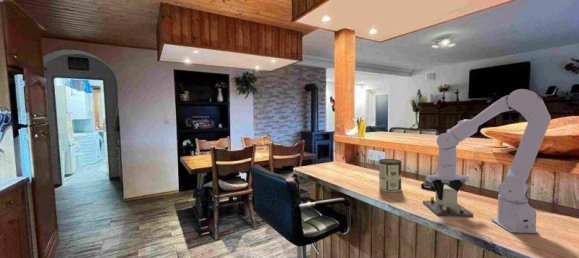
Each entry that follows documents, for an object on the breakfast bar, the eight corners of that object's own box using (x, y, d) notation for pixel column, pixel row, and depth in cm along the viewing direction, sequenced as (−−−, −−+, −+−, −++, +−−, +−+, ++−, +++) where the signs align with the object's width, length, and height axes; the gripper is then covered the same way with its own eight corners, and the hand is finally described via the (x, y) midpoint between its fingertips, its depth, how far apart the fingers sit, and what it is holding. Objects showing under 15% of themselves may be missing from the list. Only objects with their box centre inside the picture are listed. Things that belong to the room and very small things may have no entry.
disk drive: (444, 194, 116) (454, 186, 126) (444, 188, 116) (454, 181, 126) (420, 189, 124) (431, 182, 134) (420, 183, 124) (431, 177, 134)
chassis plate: (473, 216, 90) (473, 208, 90) (437, 215, 92) (437, 207, 91) (453, 203, 103) (453, 196, 103) (422, 202, 104) (422, 195, 104)
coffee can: (390, 184, 130) (390, 157, 129) (406, 190, 121) (406, 161, 120) (374, 187, 127) (374, 159, 126) (389, 193, 117) (389, 163, 116)
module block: (446, 199, 101) (446, 185, 101) (457, 207, 93) (457, 191, 93) (435, 199, 102) (435, 185, 101) (445, 207, 94) (445, 191, 93)
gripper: (461, 162, 99) (460, 196, 100) (422, 162, 101) (422, 195, 102) (472, 166, 92) (471, 202, 93) (430, 166, 94) (430, 201, 95)
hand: (446, 199), depth 97 cm, fingers closed on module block, 4 cm apart
